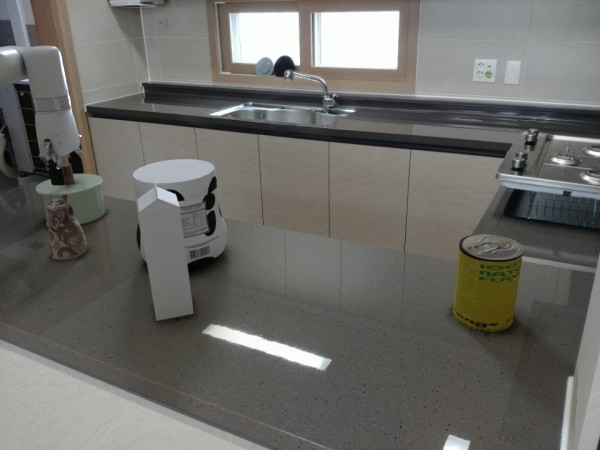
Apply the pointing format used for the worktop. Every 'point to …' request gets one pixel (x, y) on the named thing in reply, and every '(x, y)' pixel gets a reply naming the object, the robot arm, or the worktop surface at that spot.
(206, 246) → the milk container
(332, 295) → the worktop surface
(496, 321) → the beverage can
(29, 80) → the robot arm
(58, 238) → the figurine
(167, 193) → the milk
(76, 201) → the bowl
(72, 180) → the bowl lid
